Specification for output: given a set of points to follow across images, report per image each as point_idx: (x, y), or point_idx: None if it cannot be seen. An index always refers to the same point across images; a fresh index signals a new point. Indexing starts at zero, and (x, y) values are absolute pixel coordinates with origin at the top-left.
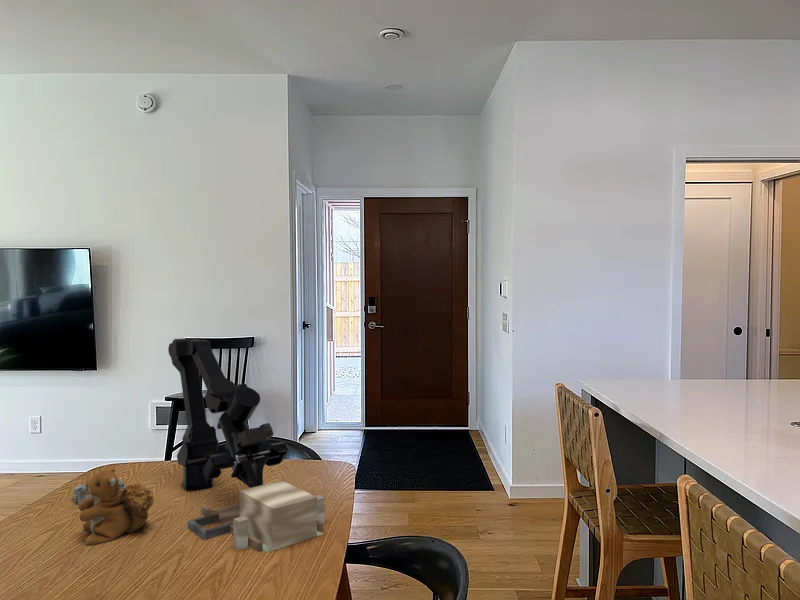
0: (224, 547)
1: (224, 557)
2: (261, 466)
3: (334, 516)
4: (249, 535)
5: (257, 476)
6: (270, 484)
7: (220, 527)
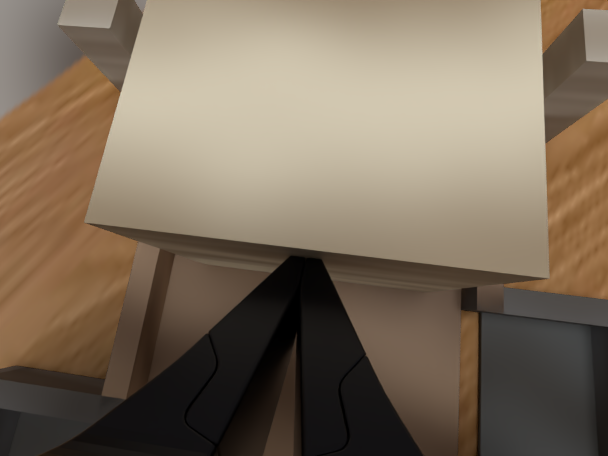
0: (554, 195)
1: (591, 122)
2: (100, 452)
3: (61, 121)
4: None
5: (262, 370)
6: (230, 201)
7: (555, 295)
